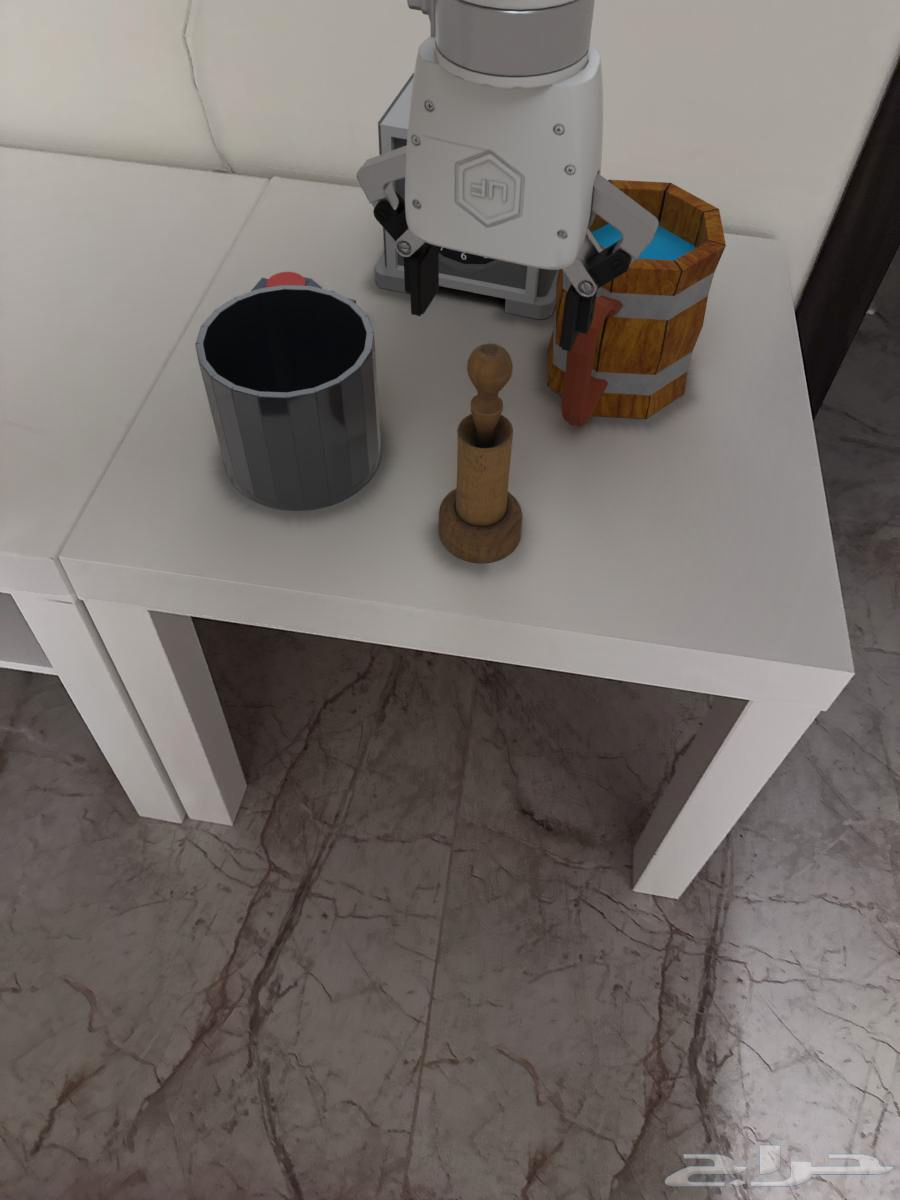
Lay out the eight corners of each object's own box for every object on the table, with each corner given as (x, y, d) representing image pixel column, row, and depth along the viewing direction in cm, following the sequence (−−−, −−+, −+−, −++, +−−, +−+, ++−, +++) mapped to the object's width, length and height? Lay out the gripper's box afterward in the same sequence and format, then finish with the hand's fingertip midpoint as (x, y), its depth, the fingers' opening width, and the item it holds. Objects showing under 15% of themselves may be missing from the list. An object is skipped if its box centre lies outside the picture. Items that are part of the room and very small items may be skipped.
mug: (574, 310, 91) (595, 162, 79) (706, 351, 88) (749, 203, 76) (490, 433, 81) (500, 285, 69) (636, 485, 77) (673, 338, 65)
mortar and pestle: (425, 548, 73) (423, 367, 59) (456, 492, 77) (461, 308, 62) (504, 573, 72) (522, 394, 57) (531, 515, 75) (555, 333, 61)
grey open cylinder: (196, 485, 77) (162, 371, 67) (268, 386, 84) (247, 270, 74) (342, 528, 74) (328, 416, 64) (403, 422, 82) (399, 307, 72)
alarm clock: (371, 286, 93) (360, 99, 79) (412, 216, 101) (409, 34, 86) (549, 321, 90) (571, 134, 76) (577, 247, 98) (603, 63, 83)
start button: (262, 306, 85) (259, 289, 84) (279, 284, 87) (277, 268, 86) (297, 315, 85) (295, 298, 83) (314, 292, 87) (312, 276, 85)
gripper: (314, 24, 44) (346, 325, 58) (675, 86, 40) (616, 390, 54) (376, -35, 48) (391, 258, 62) (708, 16, 44) (646, 315, 58)
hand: (497, 319), depth 58 cm, fingers open, 9 cm apart
